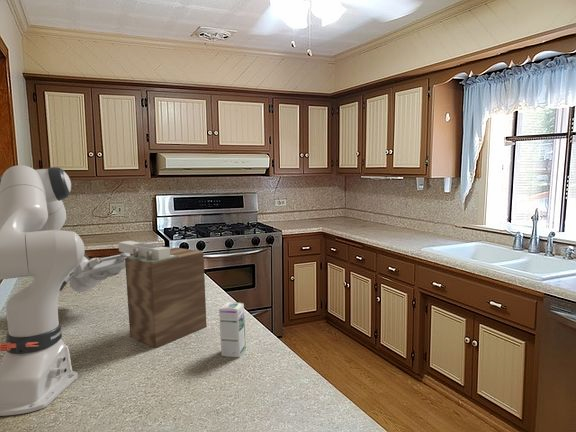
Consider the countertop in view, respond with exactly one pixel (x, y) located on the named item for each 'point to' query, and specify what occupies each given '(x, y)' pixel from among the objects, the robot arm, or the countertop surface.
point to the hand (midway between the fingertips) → (112, 257)
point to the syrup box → (232, 329)
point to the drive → (145, 249)
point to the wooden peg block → (165, 296)
